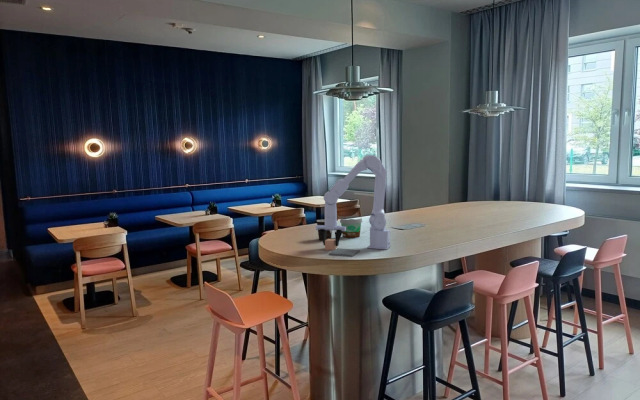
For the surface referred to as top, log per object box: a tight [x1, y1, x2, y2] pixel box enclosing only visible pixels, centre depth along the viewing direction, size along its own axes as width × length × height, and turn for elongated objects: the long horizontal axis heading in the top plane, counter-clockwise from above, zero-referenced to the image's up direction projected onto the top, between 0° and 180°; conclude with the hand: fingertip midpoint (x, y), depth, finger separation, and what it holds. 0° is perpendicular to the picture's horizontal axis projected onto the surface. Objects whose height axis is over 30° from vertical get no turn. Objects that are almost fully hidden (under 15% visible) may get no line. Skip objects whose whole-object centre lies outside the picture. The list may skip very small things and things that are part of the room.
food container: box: [339, 218, 363, 239], centre depth 250 cm, size 12×6×10 cm, turn 101°
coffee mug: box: [316, 218, 333, 242], centre depth 245 cm, size 12×9×10 cm
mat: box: [328, 247, 361, 257], centre depth 212 cm, size 11×11×1 cm
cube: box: [324, 238, 338, 251], centre depth 222 cm, size 4×4×4 cm
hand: (331, 245), depth 222 cm, fingers open, 5 cm apart
